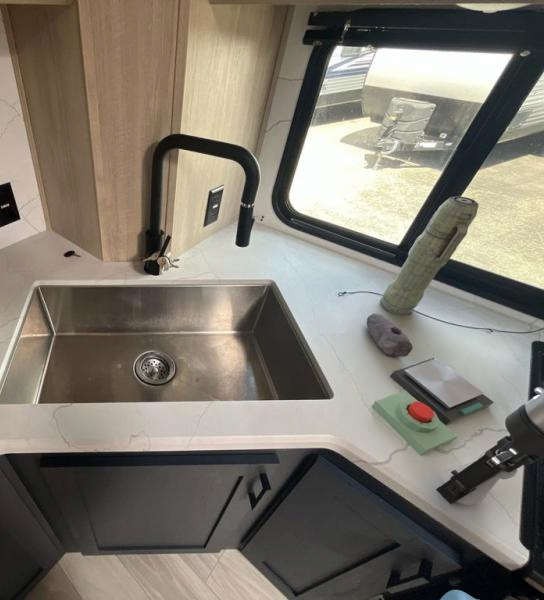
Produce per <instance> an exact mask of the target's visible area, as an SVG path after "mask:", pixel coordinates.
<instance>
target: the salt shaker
mask: <svg viewBox="0 0 544 600" xmlns="http://www.w3.org/2000/svg"><path fill="white" fill-rule="evenodd" d="M488 450H489V449H487V450H484V451H482V452H481V453H480V454H479V456H478V459H480V458H481V457H482V456H483V455H485V453H486V451H488ZM497 451H498V450H497ZM497 451H496V454H497ZM497 455H498V454H497ZM478 459H477V460H478ZM475 461H476V460H473V461H471V462H468V463H465V464H462V465H459V466H456V467H453V468H450V469H447V470H444V472H443V474H442V476H441V485H443V484H444V483H446V482H447V481H449V480H450V478H451V476H453V474H452V473H451V472H452V471H454V470H456V471H457V472H458V473H459V472H461V471H462V470H463V469H465V468H466V467H468V466H469V465H471V464H472V463H474V462H475ZM508 464H509V463H508ZM509 465H511V464H509ZM513 465H515V464H512V465H511V466H513ZM517 472H518V469H516V470H514V471H512V472H510V473H509V472H505V471H503V472H502V473H500V474H498V475H497V476H495V477H493V478H492V479H490V480H488V481H486V482H485V483H483V484H481V485H480V486H478V487H476V490H474V491H473V492H471V493H469V494H468V495H466V496H464V497H463V498H461V499H459V500H458V501H456V502H455V503H458V504H461V505H465V506H466V505H468V506H473V505H478V504H481V503H482V502H483V500H485V498H486V497H487V496H488V494H489V493H490V491H492V489H493V488H494V486H495V485H496V484H497V483H498V482H499V481H500V480H508V479H512V478H514V477H515V476H516V474H518V473H517Z"/></svg>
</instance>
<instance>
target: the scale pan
mask: <svg viewBox="0 0 544 600" xmlns="http://www.w3.org/2000/svg"><path fill="white" fill-rule="evenodd" d="M403 372H404V373H405V374H406V375H408V376H409V377H410V378H411V379H412V380H414V381H415V382H416V383H417V384H418V385H420V386H421V387H422V388H423V389H424V390H426V391H427V392H428V393H429V394H431V395H432V396H433V397H434V398H435V399H437V400H438V401H439V402H440V403H441V404H443V405H444V406H445V407H446V408H447V409H450V408H452V407H455V406H457V405H460V404H462V403H465V402H467V401H469V400H472V399H474V398H477V397H479V396H482V395H483V394H484V395H485V392H483V391H482V390H480V389H479V388H477V387H476V386H475V385H474V384H473V383H471V382H470V381H468V380H467V379H465V378H464V377H463V376H461V375H460V374H459V373H457V372H456V371H455V370H453V369H452V368H451V367H450V366H448V365H446V364H445V363H443V362H442V361H441V360H439V359H438V358H435V359H433V360H430V361H428V362H425V363H422V364H419V365H416V366H413V367H411V368H408V369H405V370H404V371H403Z"/></svg>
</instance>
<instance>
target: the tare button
mask: <svg viewBox="0 0 544 600" xmlns="http://www.w3.org/2000/svg"><path fill="white" fill-rule="evenodd" d="M408 413H409V415H410V416H411V417H413V418H414V419H415V420H417V421H419V422H422V423H427V422H429V421H430V420H431V419H432V418H433V417H434V412H433V410H432V409H431V408H430V407H429V406H427V405H426V404H424V403H421V402H413V403H412V404H411V405H410V406H409V407H408Z"/></svg>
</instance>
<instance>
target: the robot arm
mask: <svg viewBox="0 0 544 600" xmlns="http://www.w3.org/2000/svg"><path fill="white" fill-rule="evenodd" d="M533 391H534V392H535V394H537V395H534V396H533V397H532V398H531V399H529V400H528V401H526V403H525V404H522V405H521V406H519V407H518V408H516V409H515V410H514V411H512V412H511V413H510V414H509V415H507V417H506V418H505V420H504V425H505V428H506V430H507V432H508V434H509V435H505V436H504V437H502V438H500V439H499V440H497V442H496V444H495V445H494V446H492V447H490V448H489V449H487V450H488V451H487V450H485V451H486V453H485V455H483V456H482V457H481V458H480V459H477V460H474V461H475V462H474V461H473V462H474V463H472V464H471V465H469V466H468V467H466V468H465V469H463V470H462V471H461V472H459V473H458V472H457V471H456V470H454V471H452V472H451V473H452V474H453V476H451V478H450V480H449V481H447V482H446V483H444V484H443V485H442V484H441V485H440V486H438V487H437V488H435V490H436V492H438V494H440V496H442V498H443V499H444V500H445V501H446V502H447V503H448V504H449V505H453V504H454V503H457V502H456V501H458V500H459V499H461V498H463V497H464V496H466V495H468V494H469V493H471V492H473V491H474V490H476V487H478V486H480V485H481V484H483V483H485V482H486V481H488V480H490V479H492V478H493V477H495V476H497V475H498V474H500V473H502V472H503V471H505V472H509V473H510V472H512V471H514V470H516V469H517V470H518V469H519V468H521V467H523V466H529V465H531V464H534V462H536V461H539V460H541V459H544V388H543V387H542V386H541V387H540V386H538V387H535V388H534V389H533ZM496 451H497V454H498V455H497V454H496ZM508 463H509V464H511V465H512V464H515V465H513V466H511V465H509V464H508ZM439 600H480V599H478V598H477V599H476V598H475V597H473V596H471V595H469V594H468V593H466V592H464V591H463V590H460V589H452V590H449V591H447V592H445V594H444V595H443V596H442V597H441V598H440V599H439Z"/></svg>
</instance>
